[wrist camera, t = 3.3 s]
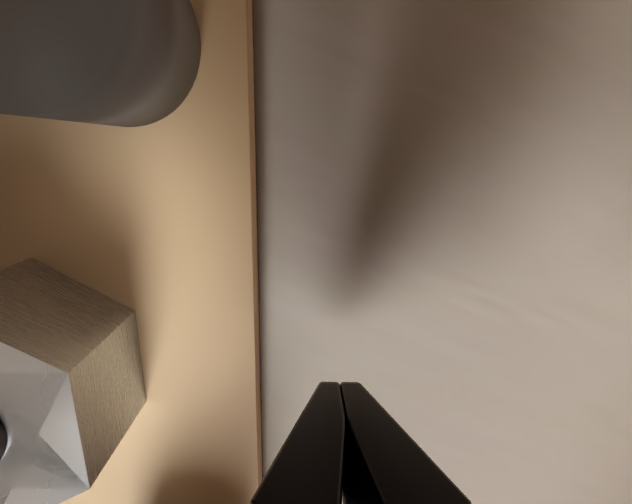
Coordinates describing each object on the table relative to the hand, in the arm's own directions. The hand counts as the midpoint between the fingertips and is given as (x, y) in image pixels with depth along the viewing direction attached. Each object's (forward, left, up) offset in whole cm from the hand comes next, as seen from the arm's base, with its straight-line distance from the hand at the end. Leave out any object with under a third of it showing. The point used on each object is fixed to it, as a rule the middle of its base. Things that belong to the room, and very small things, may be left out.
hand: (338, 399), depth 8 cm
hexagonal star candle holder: (-7, 0, -1) cm, 7 cm away
